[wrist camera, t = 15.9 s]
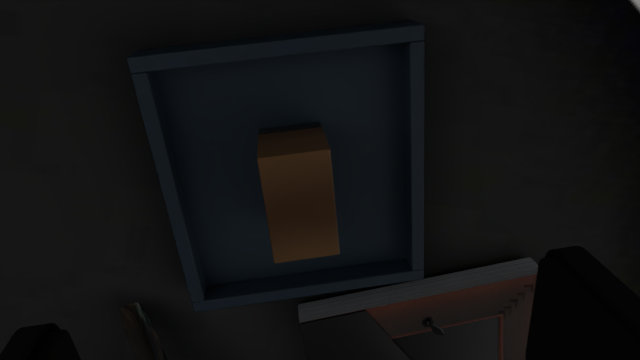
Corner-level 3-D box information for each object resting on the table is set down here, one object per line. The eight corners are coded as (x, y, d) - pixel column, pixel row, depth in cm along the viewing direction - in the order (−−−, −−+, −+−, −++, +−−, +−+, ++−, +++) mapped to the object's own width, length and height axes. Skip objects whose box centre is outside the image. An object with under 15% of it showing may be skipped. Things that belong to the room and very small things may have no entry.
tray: (137, 49, 24) (125, 57, 22) (411, 19, 25) (425, 23, 23) (199, 289, 30) (194, 313, 28) (413, 259, 31) (424, 279, 29)
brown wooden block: (258, 128, 26) (256, 158, 21) (320, 121, 26) (330, 148, 22) (272, 221, 28) (274, 264, 24) (329, 214, 28) (340, 254, 24)
